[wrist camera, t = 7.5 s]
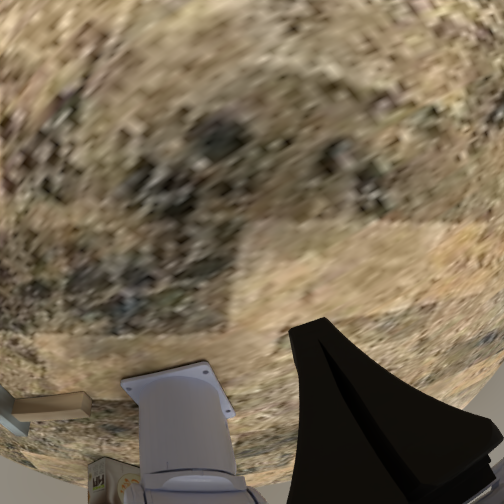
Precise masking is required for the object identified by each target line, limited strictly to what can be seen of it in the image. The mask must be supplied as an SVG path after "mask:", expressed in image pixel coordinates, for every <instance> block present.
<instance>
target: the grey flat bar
mask: <svg viewBox="0 0 504 504" xmlns="http://www.w3.org/2000/svg"><path fill="white" fill-rule="evenodd" d="M91 406H92V399H91V398H90V397H89V396H88V395H87V394H86V393H85V392H84V391H83V392H76V393H69V394H62V395H53V396H45V397H35V398H25V399H14V398H13V397H12V396H11V395H10V394H9V393H8V392H7V391H6V390H5V389H4V388H3V387H2V386H1V385H0V423H1V424H2V425H3V426H4V427H6V428H7V429H8V430H9V431H11V432H12V433H13V434H14V435H16V436H28V431H29V426H30V422H32V421H53V420H67V419H78V418H88V417H90V415H91Z"/></svg>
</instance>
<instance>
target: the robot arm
mask: <svg viewBox="0 0 504 504" xmlns="http://www.w3.org/2000/svg"><path fill="white" fill-rule="evenodd" d="M288 332H289V338H290V343H291V348H292V353H293V358H294V363H295V366H296V369H297V372H298V378H299V430H298V441H297V450H296V458H295V464H294V470H293V476H292V481H291V487H290V491H289V495H288V499H287V504H467V503H469V502H470V501H472V500H473V499H474V498H476V497H477V496H479V495H480V494H481V493H483V492H484V491H485V490H487V489H488V488H489V487H490V486H492V488H491V491H489V492H487V493H486V494H484V495H483V496H481V497H479V498H478V499H476V500H475V501H473V502H472V503H471V504H504V458H503V459H501V460H500V461H499V462H498V463H497V464H495V465H494V466H493V467H492V468H490V466H489V463H490V462H491V459H490V457H489V456H488V454H489V453H490V452H491V451H492V450H493V449H494V448H496V447H497V446H498V445H499V444H500V443H501V442H502V441H503V439H504V437H503V435H502V434H501V432H500V431H499V429H498V428H497V426H496V425H495V424H494V423H493V422H492V421H491V419H488V418H485V417H482V416H478V415H474V414H472V413H469V412H466V411H463V410H461V409H458V408H455V407H453V406H450V405H448V404H446V403H444V402H441V401H439V400H437V399H435V398H433V397H431V396H429V395H427V394H425V393H423V392H421V391H419V390H417V389H415V388H414V387H412V386H410V385H409V384H407V383H405V382H404V381H402V380H400V379H399V378H397V377H396V376H394V375H393V374H391V373H390V372H388V371H387V370H386V369H384V368H383V367H382V366H380V365H379V364H377V363H376V362H375V361H374V360H372V359H371V358H370V357H368V356H367V355H366V354H365V353H364V352H362V351H361V350H360V349H359V348H358V347H356V346H355V345H354V344H353V343H352V342H351V341H350V340H348V339H347V338H346V337H345V336H344V335H343V334H342V333H341V332H340V331H339V330H338V329H337V328H336V327H335V326H334V325H333V324H332V323H331V322H330V321H329V320H328V319H327V318H325V317H323V318H320V319H317V320H314V321H311V322H308V323H305V324H302V325H299V326H296V327H293V328H291V329H290V330H289V331H288ZM205 370H206V371H205ZM121 387H122V388H123V389H124V390H125V391H126V392H127V394H128V395H129V396H130V397H131V398H132V399H133V400H134V401H135V402H136V403H137V405H138V406H139V455H140V477H141V480H140V483H139V484H138V483H132V484H131V485H130V486H129V487H128V488H126V489H125V491H124V504H268V503H267V501H266V500H265V498H264V497H263V496H262V495H261V494H260V493H259V492H258V491H257V490H256V489H255V488H253V487H250V486H246V482H245V478H244V476H235V475H236V461H235V456H234V452H233V447H232V443H231V438H230V433H229V428H228V423H227V419H228V418H232V417H234V416H235V415H236V414H235V411H234V409H233V407H232V405H231V404H230V402H229V400H228V398H227V396H226V394H225V393H224V391H223V389H222V387H221V385H220V383H219V381H218V380H217V378H216V376H215V374H214V372H213V370H212V368H211V366H210V364H209V363H208V362H199V363H195V364H191V365H187V366H183V367H179V368H174V369H170V370H166V371H161V372H157V373H152V374H147V375H143V376H138V377H133V378H128V379H123V380H121Z"/></svg>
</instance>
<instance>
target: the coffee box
mask: <svg viewBox="0 0 504 504" xmlns="http://www.w3.org/2000/svg"><path fill="white" fill-rule="evenodd" d="M140 480H141V477H140V468H138V467H135V466H131V465H128V464H125V463H122V462H118V461H115V460H112V459H109V458H106V457H104V458H102V459H100V460H98V461H96V462H94V463H92V464H89V465H88V504H124V491H125V489H126V488H128V487H129V486H130V485H131V484H132V483H138V484H139V483H140Z"/></svg>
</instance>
